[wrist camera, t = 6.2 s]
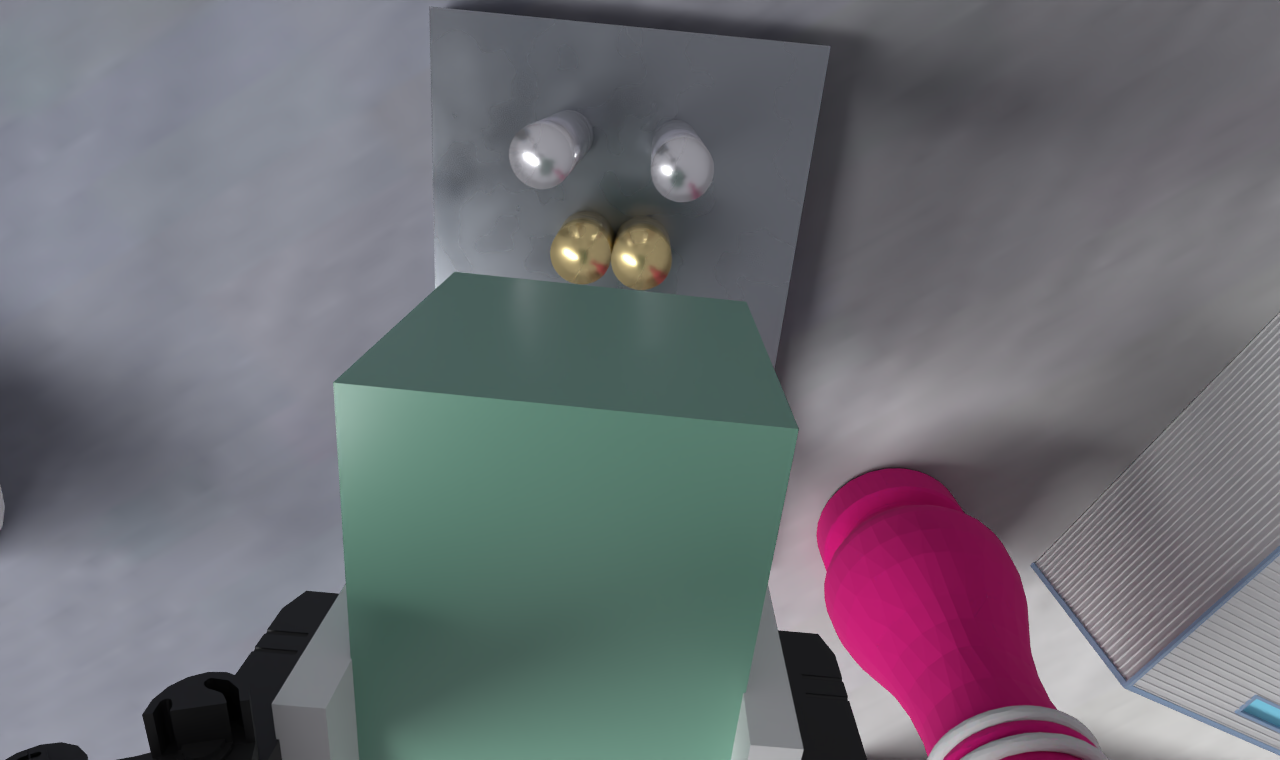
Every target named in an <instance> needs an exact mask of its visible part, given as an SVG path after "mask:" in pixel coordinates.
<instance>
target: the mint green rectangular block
mask: <svg viewBox="0 0 1280 760" xmlns="http://www.w3.org/2000/svg"><path fill="white" fill-rule="evenodd" d="M333 386H334V402H335V418H336V434H337V450H338V466H339V482H340V497H341V513H342V529H343V545H344V561H345V577H346V593H347V609H348V625H349V641H350V657H351V659H352V669H353V683H354V697H355V710H356V724H357V738H358V751H359V760H731V756H732V750H733V745H734V740H735V734H736V729H737V724H738V719H739V713H740V708H741V703H742V697H743V693H746V689H747V684H748V679H749V674H750V669H751V664H752V659H753V654H754V649H755V644H756V640H757V635H758V630H759V625H760V620H761V615H762V610H763V605H764V600H765V595H766V590H767V585H768V580H769V575H770V570H771V565H772V560H773V555H774V550H775V545H776V540H777V535H778V530H779V525H780V520H781V515H782V510H783V505H784V500H785V495H786V490H787V485H788V480H789V475H790V470H791V465H792V460H793V455H794V450H795V445H796V440H797V436H798V431H799V428H798V426H797V424H796V421H795V419H794V416H793V414H792V411H791V409H790V407H789V404H788V402H787V399H786V397H785V394H784V392H783V390H782V387H781V385H780V382H779V380H778V377H777V375H776V373H775V370H774V368H773V365H772V363H771V360H770V358H769V356H768V353H767V351H766V348H765V346H764V343H763V341H762V339H761V336H760V334H759V331H758V329H757V326H756V324H755V322H754V319H753V317H752V314H751V312H750V310H749V307H748V305H747V302H744V301H734V300H724V299H715V298H705V297H695V296H685V295H676V294H666V293H656V292H646V291H637V290H627V289H617V288H608V287H598V286H588V285H578V284H569V283H559V282H549V281H539V280H530V279H520V278H510V277H500V276H491V275H481V274H471V273H461V272H454V273H452V274H451V275H450V276H449V277H448V278H447V279H446V280H445V281H444V282H443V283H442V284H440V285H439V286H438V287H437V288H436V289H435V290H434V291H433V292H432V293H431V294H430V295H428V296H427V297H426V298H425V299H424V300H423V301H422V302H421V303H420V304H419V305H418V306H416V307H415V308H414V309H413V310H412V311H411V312H410V313H409V314H408V315H407V316H405V317H404V318H403V319H402V320H401V321H400V322H399V323H398V324H397V325H396V326H395V327H393V328H392V329H391V330H390V331H389V332H388V333H387V334H386V335H385V336H384V337H383V338H381V339H380V340H379V341H378V342H377V343H376V344H375V345H374V346H373V347H372V348H371V349H369V350H368V351H367V352H366V353H365V354H364V355H363V356H362V357H361V358H360V359H359V360H357V361H356V362H355V363H354V364H353V365H352V366H351V367H350V368H349V369H348V370H347V371H345V372H344V373H343V374H342V375H341V376H340V377H339V378H338V379H337V380H336V381H334V382H333Z"/></svg>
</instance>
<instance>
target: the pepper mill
mask: <svg viewBox="0 0 1280 760" xmlns="http://www.w3.org/2000/svg"><path fill="white" fill-rule="evenodd" d="M817 542H818V547H819V551H820V554H821V557H822V560H823V562H824V565H825V568H826V571H827V573H826V578H825V583H824V591H825V602H826V607H827V612H828V614H829V617H830V619H831V621H832V624H833V626H834V628H835V631H836V633H837V635H838V637H839V639H840V641H841V642H842V644H843V646H844V647H845V648H846V650H847V651H848V652H849V653H850V655H851V656H852V657H853V659H854V660H855V661H856V662H857V663H858V664H859V666H860V667H861V668H862V669H863V670H864V671H865V672H867V673H868V674H869V675H870V676H871V677H872V678H874V679H875V680H876V681H877V682H878V683H879V684H881V685H882V686H883V687H884V688H885V689H887V690H888V691H889V692H890V693H891V694H892V695H893V696H894V697H895V698H896V699H897V700H898V702H899V703H900V704H901V706H902V707H903V708H904V710H905V711H906V712H907V714H908V715H909V716H910V718H911V720H912V722H913V724H914V726H915V728H916V730H917V732H918V734H919V736H920V737H921V739H922V741H923V743H924V746H925V750H926V753H927V756H928V758H927V760H1109V759H1108V758H1107V757H1106V756H1105V755H1104V754H1103V753H1102V752H1101V749H1100V747H1099V744H1098V742H1097V739H1096V738H1095V737H1094V735H1093V734H1092V733H1091V731H1090V730H1089V729H1088V728H1087V727H1086V726H1085V725H1083V724H1082V723H1081V722H1080V721H1079V720H1077V719H1076V718H1074V717H1072V716H1070V715H1068V714H1066V713H1064V712H1061V711H1059V710H1057V709H1056V707H1055V706H1054V705H1053V703H1052V702H1051V701H1050V699H1049V697H1048V695H1047V693H1046V691H1045V689H1044V687H1043V685H1042V683H1041V681H1040V679H1039V677H1038V674H1037V671H1036V667H1035V664H1034V661H1033V657H1032V654H1031V648H1030V636H1029V622H1028V607H1027V601H1026V596H1025V593H1024V589H1023V585H1022V582H1021V578H1020V575H1019V573H1018V571H1017V569H1016V567H1015V565H1014V563H1013V561H1012V560H1011V558H1010V556H1009V554H1008V552H1007V551H1006V549H1005V547H1004V545H1003V544H1002V542H1001V541H1000V540H999V539H998V537H997V536H996V535H995V534H994V533H993V532H992V531H991V530H990V529H989V528H987V527H986V526H985V525H984V524H982V523H981V522H980V521H978V520H977V519H975V518H973V517H971V516H969V515H967V514H965V513H964V512H963V510H962V509H961V507H960V506H959V505H958V503H957V502H956V500H955V499H954V497H953V496H952V494H951V493H950V492H949V491H948V489H947V488H946V487H945V486H944V485H943V484H942V483H940V482H939V481H937V480H936V479H934V478H933V477H931V476H929V475H927V474H924V473H921V472H919V471H914V470H910V469H900V468H891V469H882V470H877V471H872V472H869V473H866V474H864V475H862V476H860V477H857V478H855V479H853V480H851V481H850V482H848V483H847V484H846V485H844V486H843V487H842V488H841V489H839V490H838V491H837V492H836V493H835V494H834V495H833V496H832V498H831V499H830V500H829V501H828V502H827V504H826V506H825V508H824V509H823V511H822V513H821V516H820V519H819V522H818V527H817Z"/></svg>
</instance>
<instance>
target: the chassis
mask: <svg viewBox="0 0 1280 760" xmlns="http://www.w3.org/2000/svg"><path fill="white" fill-rule="evenodd" d="M429 11H430V59H431V108H432V156H433V205H434V254H435V289H436V288H437V287H438V286H439V285H440V284H442V283H443V282H444V281H445V280H446V279H447V278H448V277H449V276H450V275H451V274H452V273H454V272H461V273H471V274H481V275H491V276H500V277H510V278H520V279H530V280H539V281H549V282H559V283H569V284H578V285H588V286H598V287H608V288H617V289H627V290H637V291H646V292H656V293H666V294H676V295H685V296H695V297H705V298H715V299H724V300H734V301H744V302H747V305H748V307H749V310H750V312H751V314H752V317H753V319H754V322H755V324H756V326H757V329H758V331H759V334H760V336H761V339H762V341H763V343H764V346H765V348H766V351H767V353H768V356H769V358H770V360H771V363H772V365H773V368H774V369H775V364H776V358H777V352H778V346H779V341H780V335H781V329H782V324H783V318H784V312H785V306H786V301H787V295H788V289H789V283H790V278H791V272H792V266H793V260H794V255H795V249H796V243H797V237H798V232H799V226H800V220H801V214H802V209H803V203H804V197H805V192H806V186H807V180H808V174H809V169H810V163H811V157H812V151H813V146H814V140H815V134H816V128H817V123H818V117H819V111H820V105H821V100H822V94H823V88H824V82H825V77H826V71H827V65H828V59H829V54H830V48H831V46H825V45H815V44H805V43H795V42H785V41H774V40H764V39H754V38H744V37H734V36H724V35H713V34H703V33H693V32H683V31H673V30H663V29H652V28H642V27H632V26H622V25H612V24H602V23H591V22H581V21H571V20H561V19H551V18H541V17H530V16H520V15H510V14H500V13H490V12H480V11H469V10H459V9H449V8H439V7H429Z"/></svg>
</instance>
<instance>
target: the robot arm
mask: <svg viewBox="0 0 1280 760" xmlns="http://www.w3.org/2000/svg"><path fill="white" fill-rule="evenodd" d="M847 698H848V696H847V693H846V689H845V686H844V683H843V682H842V676H841V673H840V670H839V666H838V663H837V660H836V657H835V654H834V653H833V652H832V651H831V649H830V648H829V647H828V646H827V644H826V643H825V642H824V641H823V640H822V638H821V637H820V636H819V635H818V634H812V633H800V632H789V631H778V629H777V624H776V620H775V615H774V610H773V606H772V601H771V596H770V592H769V587H768V585H767V590H766V595H765V600H764V605H763V610H762V615H761V620H760V625H759V630H758V635H757V640H756V644H755V649H754V654H753V659H752V664H751V669H750V674H749V679H748V684H747V689H746V693H743V697H742V703H741V708H740V713H739V719H738V724H737V729H736V734H735V740H734V745H733V750H732V756H731V760H867V758H866V755H865V751H864V748H863V745H862V742H861V738H860V735H859V732H858V729H857V725H856V722H855V719H854V715H853V712H852V709H851V706H850V702H849V701H848V699H847ZM142 716H143V720H144V724H145V729H146V733H147V738H148V742H149V746H150V751H151V753H147V754H143V755H139V756H135V757H129V758H124V759H118V760H359V751H358V738H357V724H356V710H355V697H354V683H353V669H352V659H351V657H350V641H349V625H348V609H347V593H346V584H345V586H344V587H343V589H342V590H341V592H340V594H336V593H325V592H313V591H306V592H304V593H303V594H301V595H300V596H299V597H297V598H296V599H295V600H293V601H292V602H290V603H289V604H288V605H286V606H285V607H284V608H282V610H281V611H280V612H279V614H278V615H277V617H276V618H275V619H274V621H273V622H272V624H271V625H270V627H269V628H268V629H267V633H266V634H264V635H263V636H262V638H261V639H260V641H259V642H258V644H257V645H256V646H255V650H254V652H253V651H252V652H251V653H250V655H249V656H248V658H247V659H246V660H245V662H244V663H243V665H242V666H241V668H240V669H239V670H238V672H237V673H236V675H233V674H230V673H227V672H207V673H203V674H199V675H195V676H191V677H187V678H185V679H183V680H181V681H179V682H177V683H175V684H173V685H171V686H169V687H167V688H166V689H165V690H164V691H162V692H161V693H160V694H159V695H158V696H156V697H155V698H154V699H153V700H152V701H151V702H150V704H149V705H148V707H147V708H146V710H145V711H144V713H143V714H142ZM6 760H88V757H87V754H86V753H85V752H84V751H83V750H81V749H80V748H79V747H78V746H76V745H71V744H67V743H62V742H61V743H52V744H43V745H39V746H36V747H33V748H30V749H27V750H24V751H21V752H19V753H16V754H14V755H13V756H11V757H9V758H8V759H6Z"/></svg>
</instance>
